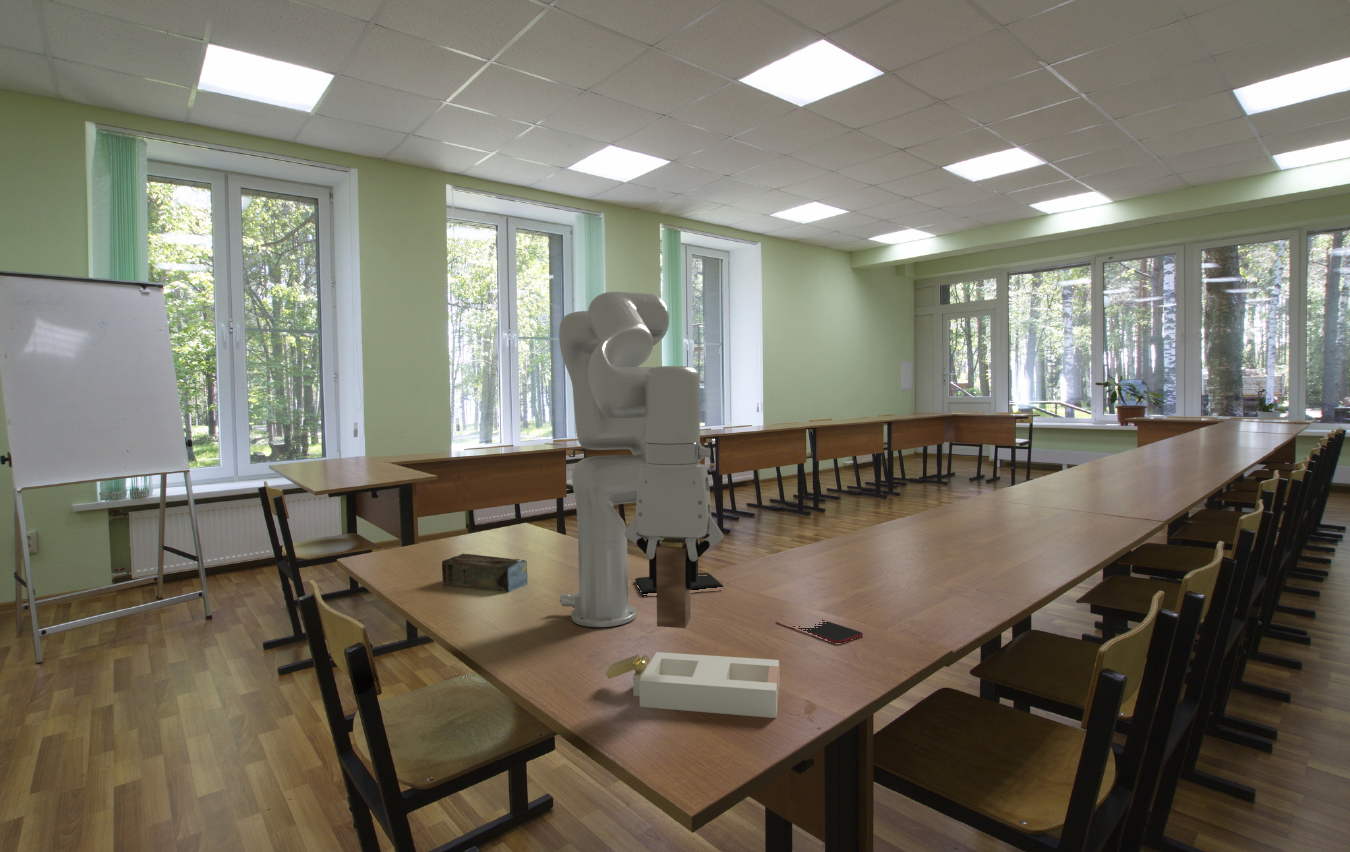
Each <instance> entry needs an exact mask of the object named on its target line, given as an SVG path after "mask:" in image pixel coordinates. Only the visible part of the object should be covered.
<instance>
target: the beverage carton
mask: <svg viewBox="0 0 1350 852" xmlns="http://www.w3.org/2000/svg"><path fill="white" fill-rule="evenodd" d="M441 571H442V572H441V573H442V585H443V586H447V587H449V586H450V587H456V588H457V587H458V588H466V589H475V590H483V591H491V592H500V593H501V592H502V593H503V592H504V593H511V592H513V591H515V590H517V589H519V588H521V587H524V586H526V585H528V578H529V577H528V576H529V575H528V561H527V560H524V559H520V558H509V557H508V558H507V557H498V556H492V555H491V556H489V555H481V554H479V555H478V554H475V553H474V554H471V553H461V554H458V555H457V556H452V557H450V558H447V559H444V560H442V561H441Z"/></svg>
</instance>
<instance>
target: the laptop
mask: <svg viewBox="0 0 1350 852" xmlns="http://www.w3.org/2000/svg"><path fill="white" fill-rule="evenodd" d="M698 575H707V576H698V582H694V585H693V587H692V589H691V590H699V589H706V588H717V587H723V588H724V585H723V584H722V583H721V581H719V580H717V579H716V578H715V577H714V576H713V575H712V574H711V573H708V572H701V573H699V572H698ZM635 581H636V583H637V585H638V586H639V588H640V590H641V591H642V594H648V593H657V588H653V580H650V579H649V576H645V577H644V576H640V577H637V578H635V579H634V582H635ZM636 583H635V584H636ZM637 585H636V586H637ZM642 594H641V595H642ZM643 596H647V595H643ZM643 596H642V597H643Z"/></svg>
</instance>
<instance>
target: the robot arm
mask: <svg viewBox="0 0 1350 852" xmlns="http://www.w3.org/2000/svg"><path fill="white" fill-rule="evenodd" d="M669 325H670V314H669V309H668V306H667V304H666V303H665V301H664V300H663V299H662V298H661V297H660V296H658V295H656V294H652V293H645V292H644V293H643V292H641V293H640V292H627V291H625V292H624V291H608V292H603V293H600V294H598V295H596V296H595V297H594V298H593V299H592V300H591V302H590V304H589V307H588V309H587V310H580V311H574V312H570V313H568V314H566V315H565V316H563V318H562V319H561V321H560V324H559V330H558V335H559V336H558V337H559V338H558V340H559V341H558V342H559V347H560V348H559V349H560V353H561V356H562V359H563V362H564V364H565V365H564V366H565V368H566V370H567V373H568V375H569V377H570V381H571V386H572V396H573V397H572V399H573V411H574V412H573V413H574V425H575V432H576V437H577V442H578V443H579V446H581V447H582V448H584V449H585V450H593V451H603V450H604V451H605V450H606V451H608V450H609V451H610V450H629V451H630V452H631V453H632V454H628V455H627V454H626V455H625V454H624V455H623V454H622V455H619V454H617V455H615V454H614V455H595V456H589V457H585V458H582V459H580V460H579V461H577V463H576V464H575V465H574V466H573V468H572V472H571V481H572V482H571V483H572V489H573V494H574V500H575V508H576V519H577V522H576V523H577V543H578V544H577V546H578V548H577V551H578V552H577V553H578V555H577V556H578V592H577V593H575V594H571V593H561V594H560V596H559V602H560V604H561V607H567V608H568V607H572V608H573V609H572V611H571V613H570V614H571V621H572V622H573V623H575V624H577V625H579V626H582V627H588V628H607V627H608V628H610V627H617V626H621V625H625V624H627V623H630V622H631V621H633V620H634V619H635V618H636V617H637V609H636V607H634V606H633V605H631V604H629V588H628V587H629V586H628V585H629V582H628V581H629V580H628V574H629V573H628V572H629V571H628V540H629V541H631V542H632V543H634V544H635V545H637V547H638V548H639V549H640V550H641V551H642V552H643V553H644V554H645V557H646V559H648V570H649V571H648V572H649V573H648V577H649V579H650V580H653V588H657V573H656V547H657V546H658V545H659V544H660V543H661V541H662V539H664V538H677V539H686V544H687V549H688V554H689V555H688V560H687V561H686V589H687V590H691V589H692V587H693V585H694V582H698V573H699V558H700V557H701V556H702V555H703V554H704V553H705V552H706V551H708V549H709V548H711V547H713V546H715V545H717V544H718V543H720V542H722V541H723V539H724V533H723V532H722V531H721V529H720V528H719V526H718V524H717V523H716V521H715V520H714V518H713V516H712V504H711V492H710V491H711V490H710V480H709V475H708V468H707V465H706V464H701V461H702V460H703V459H705V458H711V448H710V447H705V446H703V445H702V442H701V423H700V422H701V411H700V409H701V406H700V403H701V400H700V399H701V398H700V396H701V395H700V393H701V392H700V391H701V390H700V389H701V388H700V384H701V383H700V382H701V381H700V375H699V372H698V370H697V369H696V368H694V367H691V366H687V365H686V366H684V365H661V366H655V367H654V366H642V364H644V363H645V362H646V361H647V360H648V359H649V357H650V356H651V354H652V352H653V348H654V346H656V345H657V344H658V343H660V342H661V340H662V339H663V338H665V335H666V334H667V332H668V330H669ZM635 503H636V506H635V516H634V517H633V519H632V521H631V522H630V524H629V525H628V526H626V523H625V521H624V519H623V518H622V517H621V516H620V514H619V513H618V512H617V510H616V509H615V508H614V506H615V505H622V504H624V505H625V504H635ZM707 532H709V536H707V537H706V538H704V537H705V536H706V535H707ZM702 538H704V539H703V540H701V542H700V541H699V539H702Z"/></svg>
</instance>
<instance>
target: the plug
mask: <svg viewBox="0 0 1350 852" xmlns="http://www.w3.org/2000/svg"><path fill="white" fill-rule="evenodd" d="M662 539H663V540H662ZM662 539H661V542H660V544H659V545H658V546H657V547H656V573H657V596H656V627H659V628H660V627H663V628H673V629H675V628H676V629H677V628H678V629H686V628H687V626H688V624H689V623H690V620H691V616H692V615H691V614H692V613H691V611H692V610H691V605H692V604H691V603H692V602H691V601H692V599H691V598H692V597H691V595H692V594H691V593H690V590H687V589H686V561H687V560H688V555H689V554H688V549H687V544H686V539H677V538H662Z"/></svg>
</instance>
